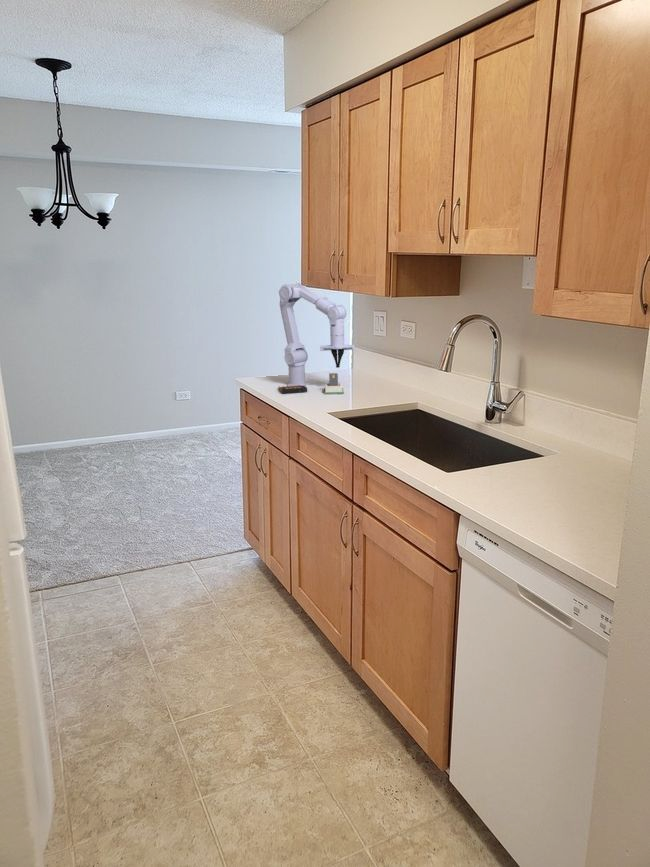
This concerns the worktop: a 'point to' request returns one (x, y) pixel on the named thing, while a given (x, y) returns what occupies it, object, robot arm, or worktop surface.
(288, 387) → the ammunition clip
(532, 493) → the worktop surface
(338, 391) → the board
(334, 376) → the plug
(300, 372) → the robot arm
